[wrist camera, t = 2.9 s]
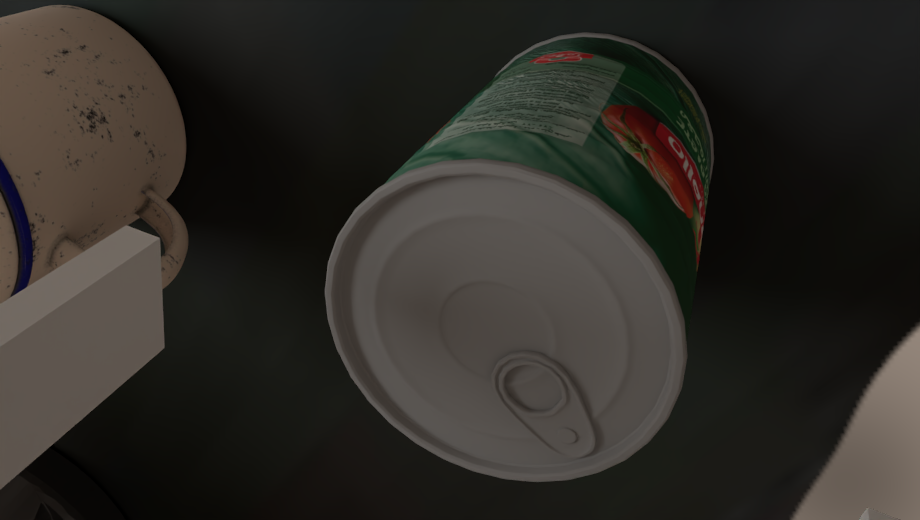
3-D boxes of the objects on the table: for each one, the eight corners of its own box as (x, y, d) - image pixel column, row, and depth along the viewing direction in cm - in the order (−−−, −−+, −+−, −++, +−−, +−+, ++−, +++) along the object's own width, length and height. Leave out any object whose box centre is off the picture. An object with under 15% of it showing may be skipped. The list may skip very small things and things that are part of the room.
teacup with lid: (-7, 134, 34) (-313, 257, 24) (24, -54, 29) (-349, 7, 19) (217, 291, 34) (1, 475, 24) (289, 131, 29) (50, 287, 19)
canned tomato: (429, 113, 26) (256, 263, 17) (629, -22, 22) (538, 83, 13) (555, 294, 28) (457, 516, 19) (762, 199, 24) (762, 426, 15)
